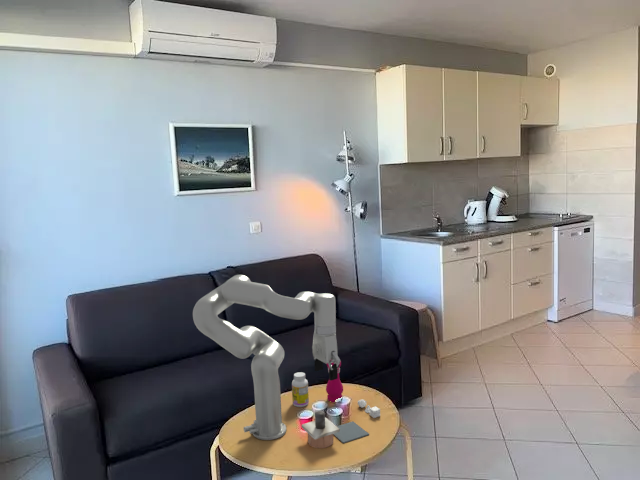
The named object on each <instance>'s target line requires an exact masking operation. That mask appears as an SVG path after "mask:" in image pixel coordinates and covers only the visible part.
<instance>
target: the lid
mask: <svg viewBox="0 0 640 480" xmlns="http://www.w3.org/2000/svg"><path fill="white" fill-rule="evenodd" d="M337 426H338V425H335V424H334V423H333V422H332V421H331V420H330V419H329V418H327V417H326V413H325V412H324V411H322V410H321V411H316V412H314V420H313V421H308V422H306V423H302V424H301V428H302V429H303V430H304V432H306V433H307V435H308V434H309V435H310V436H311V437H312V438H314V439H318V438H321V437H324V436H328V435H331V434H334V433H337V432H340V429H339V428H338V427H337Z"/></svg>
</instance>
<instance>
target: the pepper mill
mask: <svg viewBox="0 0 640 480" xmlns="http://www.w3.org/2000/svg"><path fill="white" fill-rule="evenodd" d="M330 361H331V360H330ZM331 364H332V366H333V364H334V362H333V363H331ZM326 366H327V373H329V369H330V367H329V364H328V363H327V364H326ZM341 366H342V360H340V364H339V367H338V369H337V371H338V378H337V379H335V380H331V381H330V380H329V379H328V381H327V383H326V386H325V392H326V394H327V397H326V398H327V401H328V402H329V401H331V402H330V403H334V402H335V400H336V399H338V398H341V397H342V398H343V394H342V393H343V392H344V386H343V383H342V382H341V380H340V379H341V378H340V372H341V368H340V367H341ZM335 403H336V402H335Z"/></svg>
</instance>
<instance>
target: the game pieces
mask: <svg viewBox="0 0 640 480" xmlns="http://www.w3.org/2000/svg"><path fill="white" fill-rule="evenodd" d="M357 406H358V407H359V408H361V409H362V408H365V409H364V412H365V413H367V414H369V416H371V417H372V418H373V419H375V418H378V417H381V408H380V407H378V406H376V405H375V406H373V407H371V406H370V405H369V404H368V405H367V400H366V399H359V400H357Z"/></svg>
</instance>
